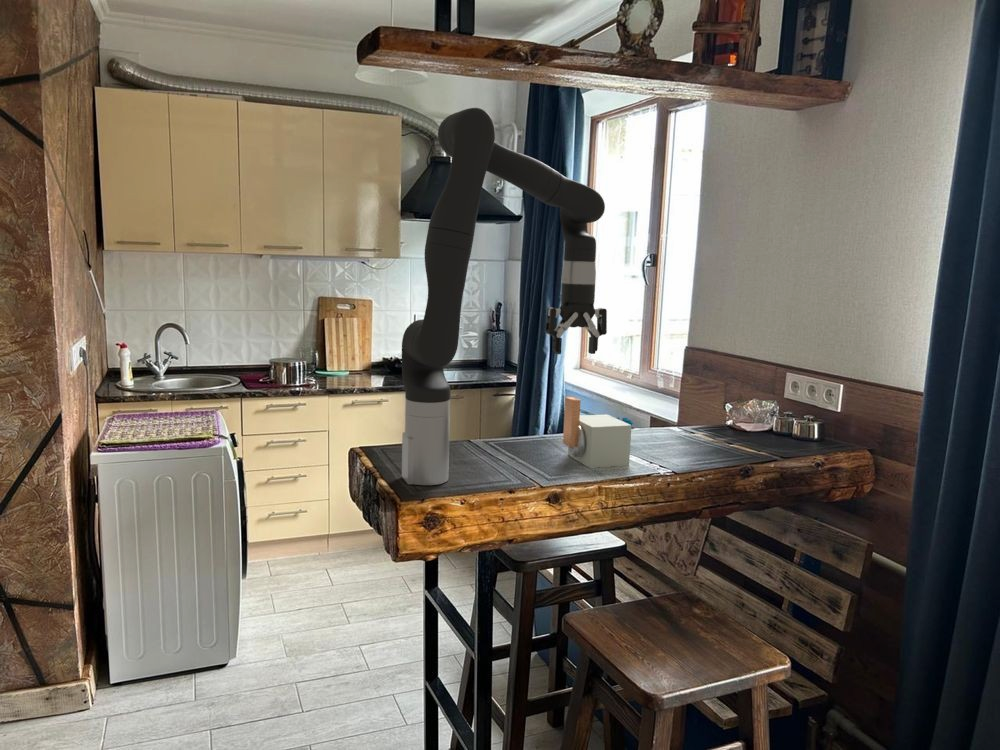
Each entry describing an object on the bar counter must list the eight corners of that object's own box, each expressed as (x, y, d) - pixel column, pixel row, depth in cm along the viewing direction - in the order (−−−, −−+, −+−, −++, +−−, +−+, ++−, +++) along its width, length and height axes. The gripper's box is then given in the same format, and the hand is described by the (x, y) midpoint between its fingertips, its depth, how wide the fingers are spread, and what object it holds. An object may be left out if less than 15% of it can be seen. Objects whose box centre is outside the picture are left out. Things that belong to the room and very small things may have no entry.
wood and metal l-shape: (572, 461, 168) (576, 401, 166) (559, 452, 175) (562, 395, 173) (609, 458, 171) (612, 400, 169) (594, 450, 178) (597, 394, 176)
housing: (590, 468, 168) (592, 427, 166) (567, 454, 179) (569, 415, 177) (629, 465, 171) (631, 425, 169) (604, 452, 182) (607, 414, 181)
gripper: (556, 282, 160) (552, 356, 162) (614, 283, 165) (610, 355, 167) (542, 280, 167) (539, 352, 169) (599, 281, 172) (595, 351, 174)
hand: (575, 353), depth 168 cm, fingers open, 8 cm apart
